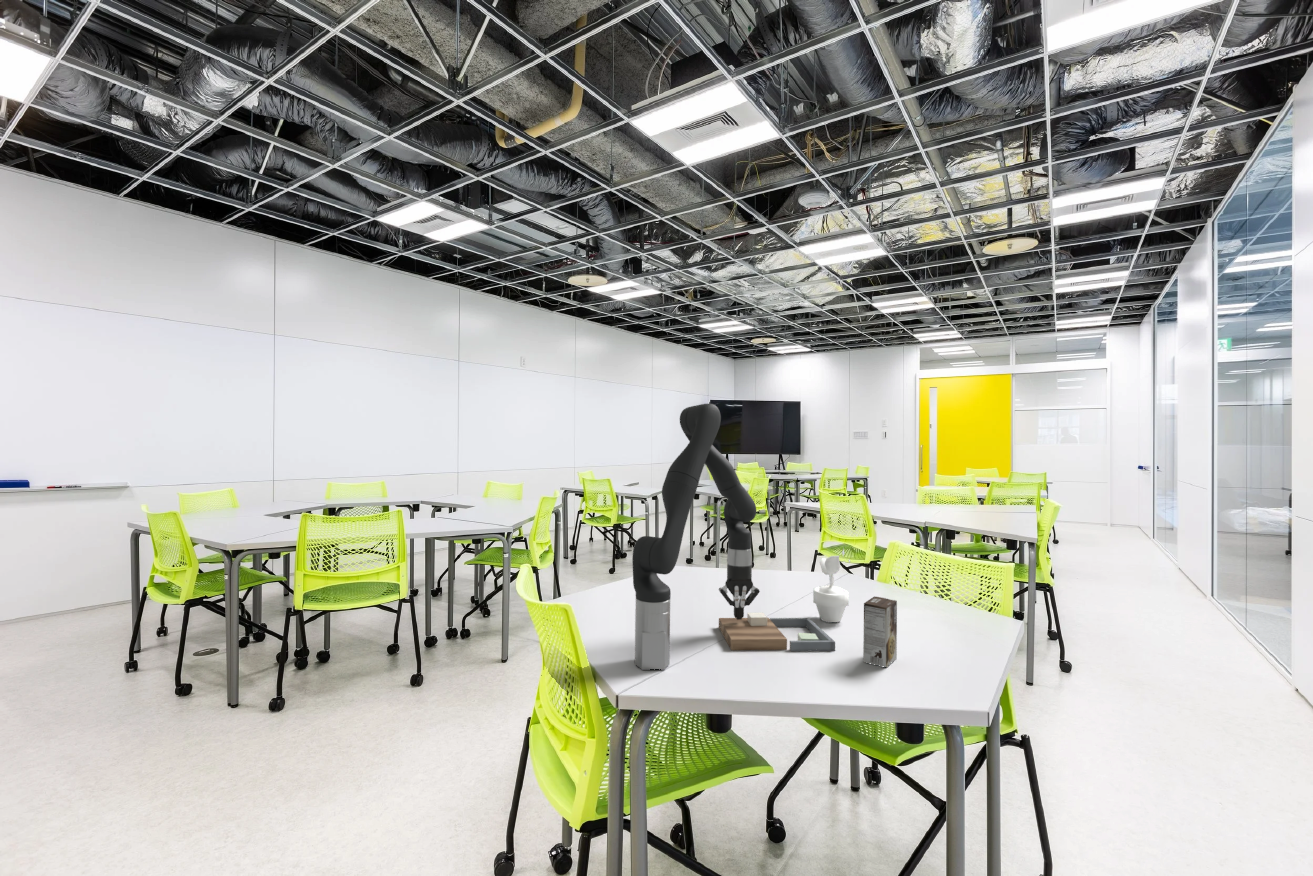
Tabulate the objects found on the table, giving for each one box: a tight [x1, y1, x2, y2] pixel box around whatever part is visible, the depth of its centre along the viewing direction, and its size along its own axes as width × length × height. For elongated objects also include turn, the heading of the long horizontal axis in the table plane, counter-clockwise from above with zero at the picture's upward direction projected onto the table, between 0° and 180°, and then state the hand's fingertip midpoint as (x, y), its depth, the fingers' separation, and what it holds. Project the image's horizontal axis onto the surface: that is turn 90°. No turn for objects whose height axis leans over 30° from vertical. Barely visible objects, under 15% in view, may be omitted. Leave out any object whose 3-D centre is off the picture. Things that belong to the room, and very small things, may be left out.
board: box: [718, 617, 788, 651], centre depth 171 cm, size 20×16×3 cm
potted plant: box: [812, 547, 851, 623], centre depth 190 cm, size 13×12×25 cm
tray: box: [769, 617, 836, 652], centre depth 172 cm, size 22×13×2 cm, turn 4°
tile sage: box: [797, 632, 819, 641], centre depth 167 cm, size 5×5×2 cm
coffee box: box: [862, 596, 898, 668], centre depth 154 cm, size 9×6×16 cm
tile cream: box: [746, 612, 768, 626], centre depth 176 cm, size 5×5×2 cm
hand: (738, 618), depth 176 cm, fingers closed
